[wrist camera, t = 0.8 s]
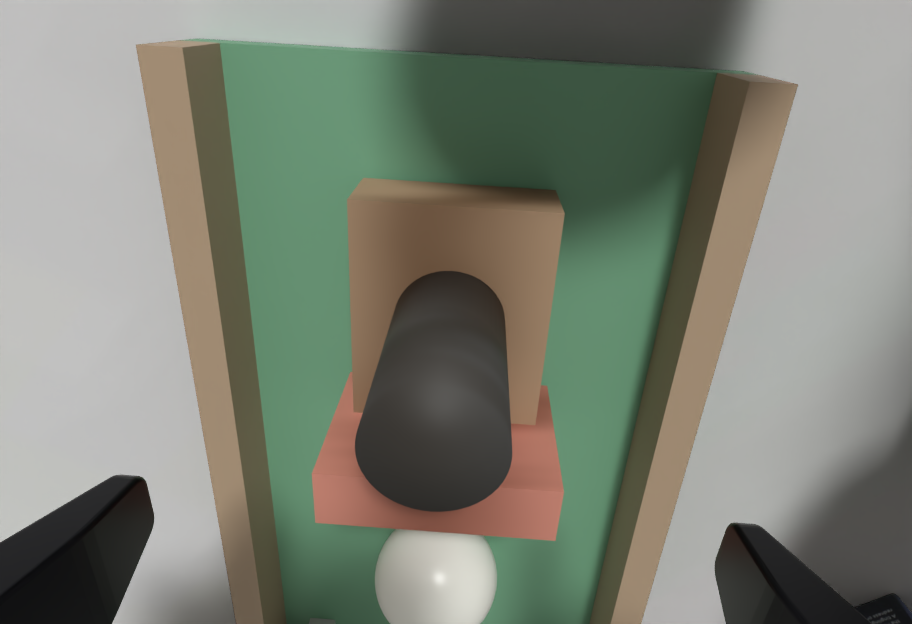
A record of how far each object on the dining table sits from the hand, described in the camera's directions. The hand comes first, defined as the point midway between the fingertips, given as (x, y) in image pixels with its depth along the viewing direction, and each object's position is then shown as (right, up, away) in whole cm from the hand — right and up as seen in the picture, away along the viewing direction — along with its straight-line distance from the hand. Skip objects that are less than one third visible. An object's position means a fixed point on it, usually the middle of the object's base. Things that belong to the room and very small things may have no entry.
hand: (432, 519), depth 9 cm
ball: (0, -5, +10) cm, 12 cm away
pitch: (0, -2, +12) cm, 12 cm away
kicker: (0, +3, +8) cm, 9 cm away
